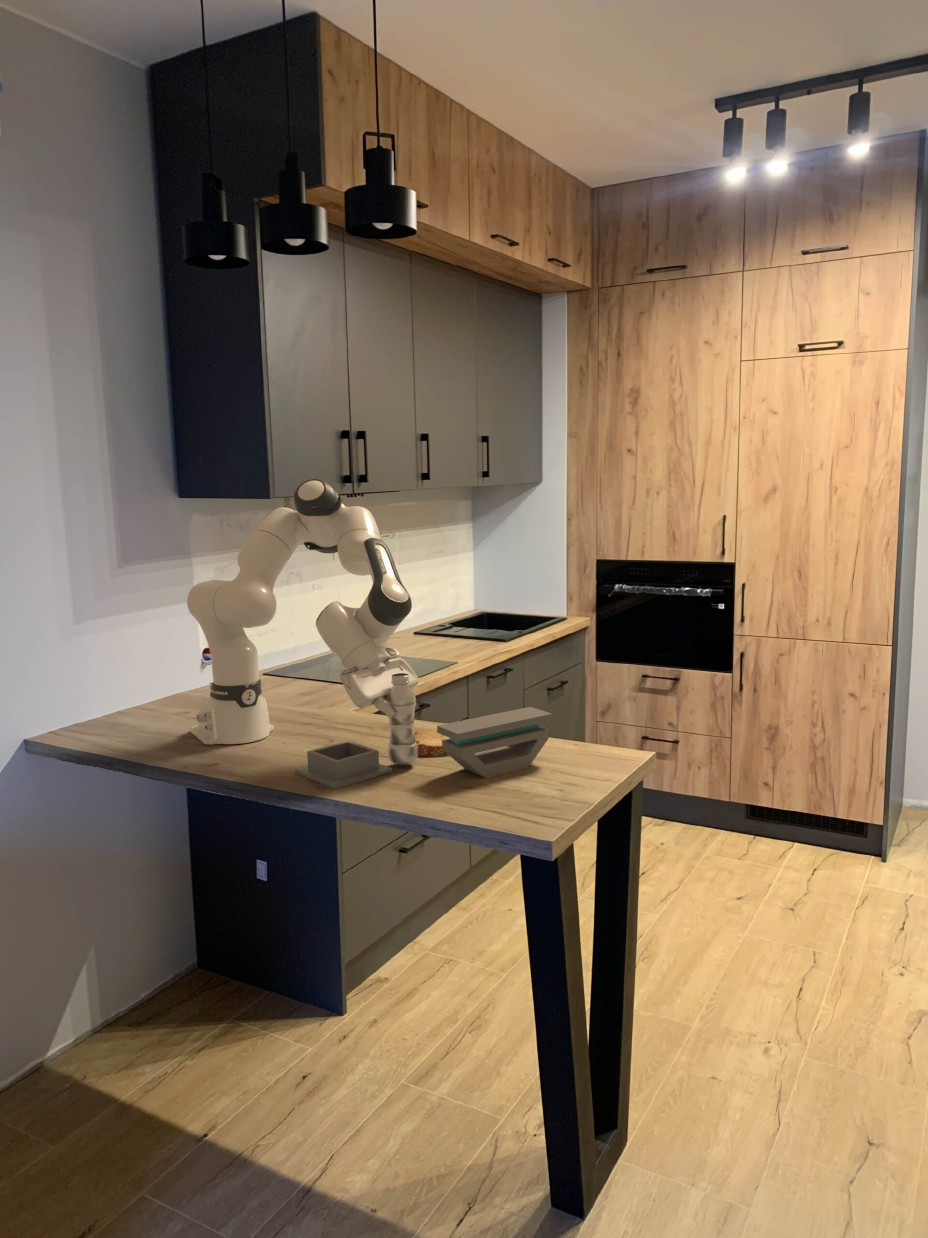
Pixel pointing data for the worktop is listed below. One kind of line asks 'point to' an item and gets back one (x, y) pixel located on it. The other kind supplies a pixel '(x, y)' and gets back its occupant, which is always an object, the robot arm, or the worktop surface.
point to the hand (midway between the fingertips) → (403, 711)
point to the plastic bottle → (402, 721)
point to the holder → (342, 764)
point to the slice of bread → (430, 743)
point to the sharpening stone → (496, 741)
